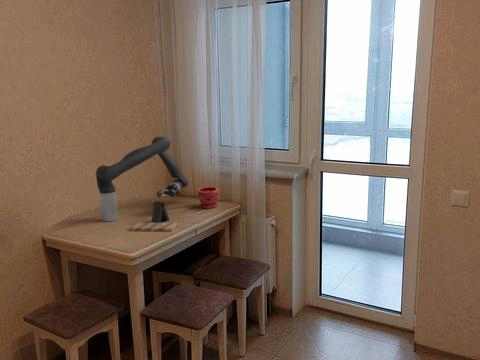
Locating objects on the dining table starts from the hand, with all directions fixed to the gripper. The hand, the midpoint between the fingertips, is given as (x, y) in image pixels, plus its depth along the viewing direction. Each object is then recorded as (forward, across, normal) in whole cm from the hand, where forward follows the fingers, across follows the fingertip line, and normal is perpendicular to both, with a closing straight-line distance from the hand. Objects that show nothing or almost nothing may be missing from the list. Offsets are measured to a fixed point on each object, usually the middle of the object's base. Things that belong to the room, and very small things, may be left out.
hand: (165, 195), depth 257 cm
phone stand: (+12, 0, +13) cm, 17 cm away
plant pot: (-21, +22, +14) cm, 33 cm away
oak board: (+24, 0, +12) cm, 27 cm away
